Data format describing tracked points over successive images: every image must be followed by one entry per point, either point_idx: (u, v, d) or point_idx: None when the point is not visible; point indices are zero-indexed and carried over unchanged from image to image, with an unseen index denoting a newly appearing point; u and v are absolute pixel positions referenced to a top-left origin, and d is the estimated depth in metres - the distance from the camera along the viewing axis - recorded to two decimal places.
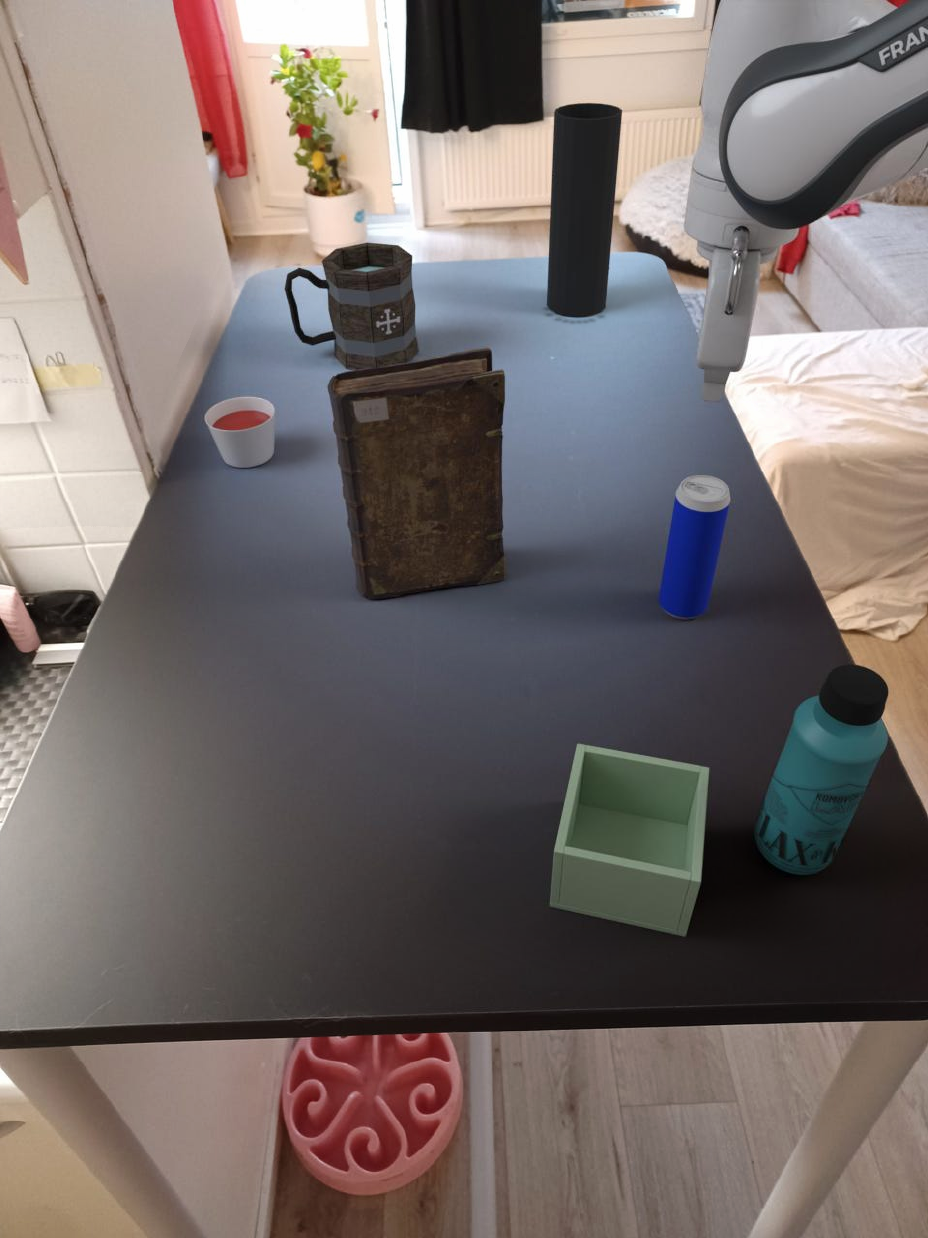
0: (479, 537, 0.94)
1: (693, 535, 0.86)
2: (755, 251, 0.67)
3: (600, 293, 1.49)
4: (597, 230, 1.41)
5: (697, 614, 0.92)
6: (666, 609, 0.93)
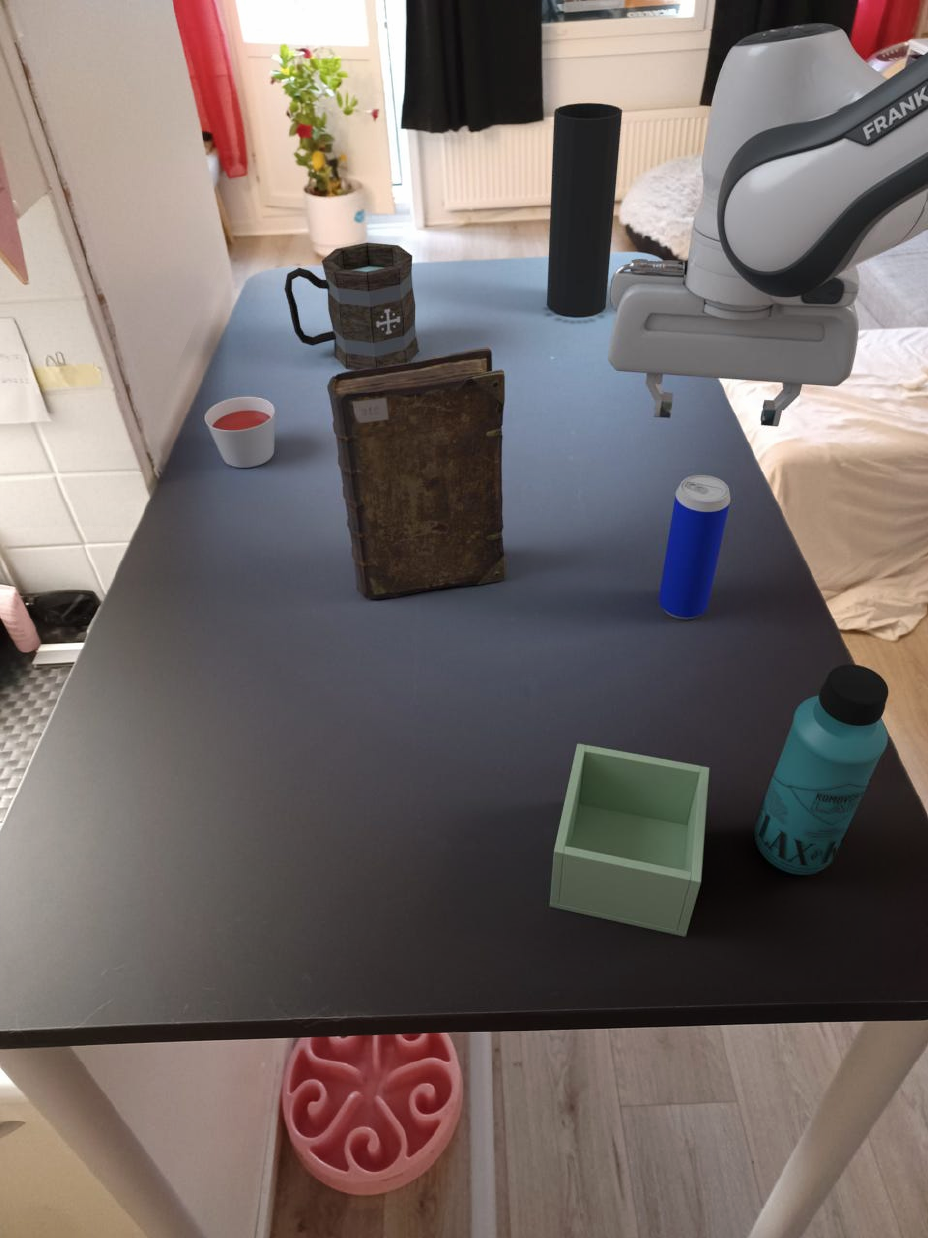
0: (479, 537, 0.94)
1: (693, 535, 0.86)
2: (687, 289, 0.72)
3: (600, 293, 1.49)
4: (597, 230, 1.41)
5: (697, 614, 0.92)
6: (666, 609, 0.93)
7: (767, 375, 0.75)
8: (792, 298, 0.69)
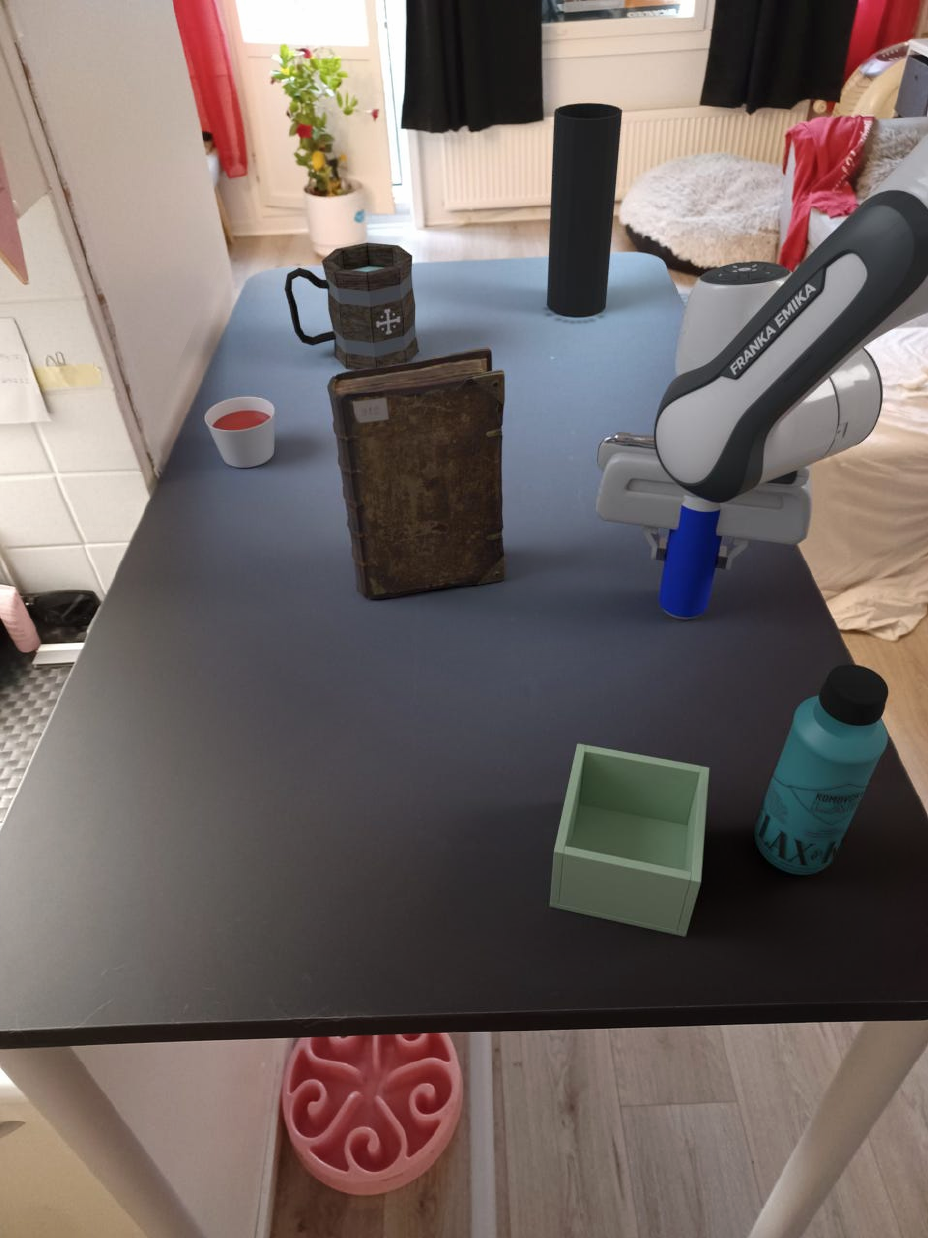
0: (479, 537, 0.94)
1: (692, 535, 0.86)
2: None
3: (600, 293, 1.49)
4: (597, 230, 1.41)
5: (697, 614, 0.92)
6: (666, 609, 0.93)
7: (734, 533, 0.85)
8: None
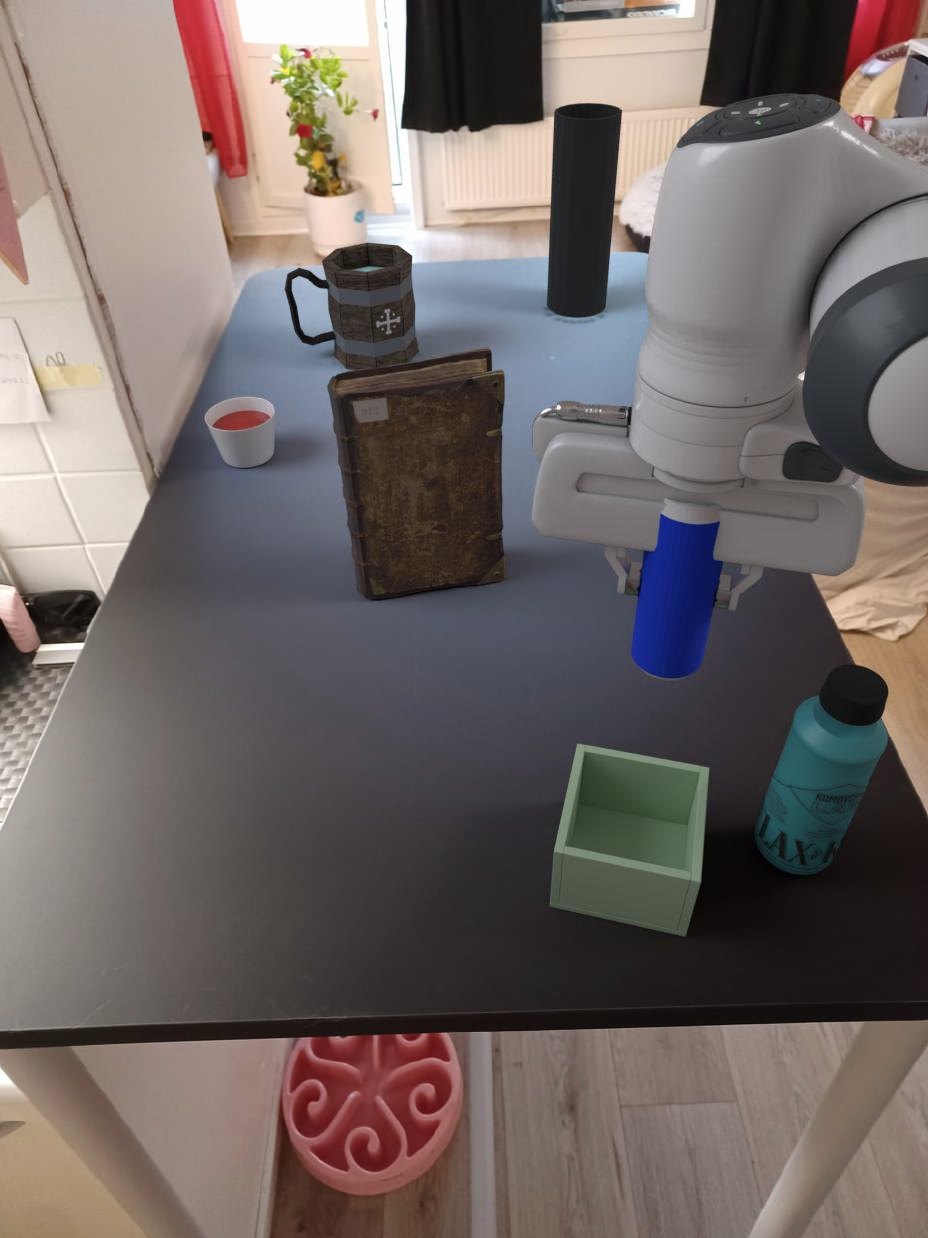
0: (479, 537, 0.94)
1: (678, 560, 0.56)
2: (630, 446, 0.53)
3: (600, 293, 1.49)
4: (597, 230, 1.41)
5: (687, 674, 0.63)
6: (641, 666, 0.63)
7: (741, 557, 0.55)
8: (770, 472, 0.49)
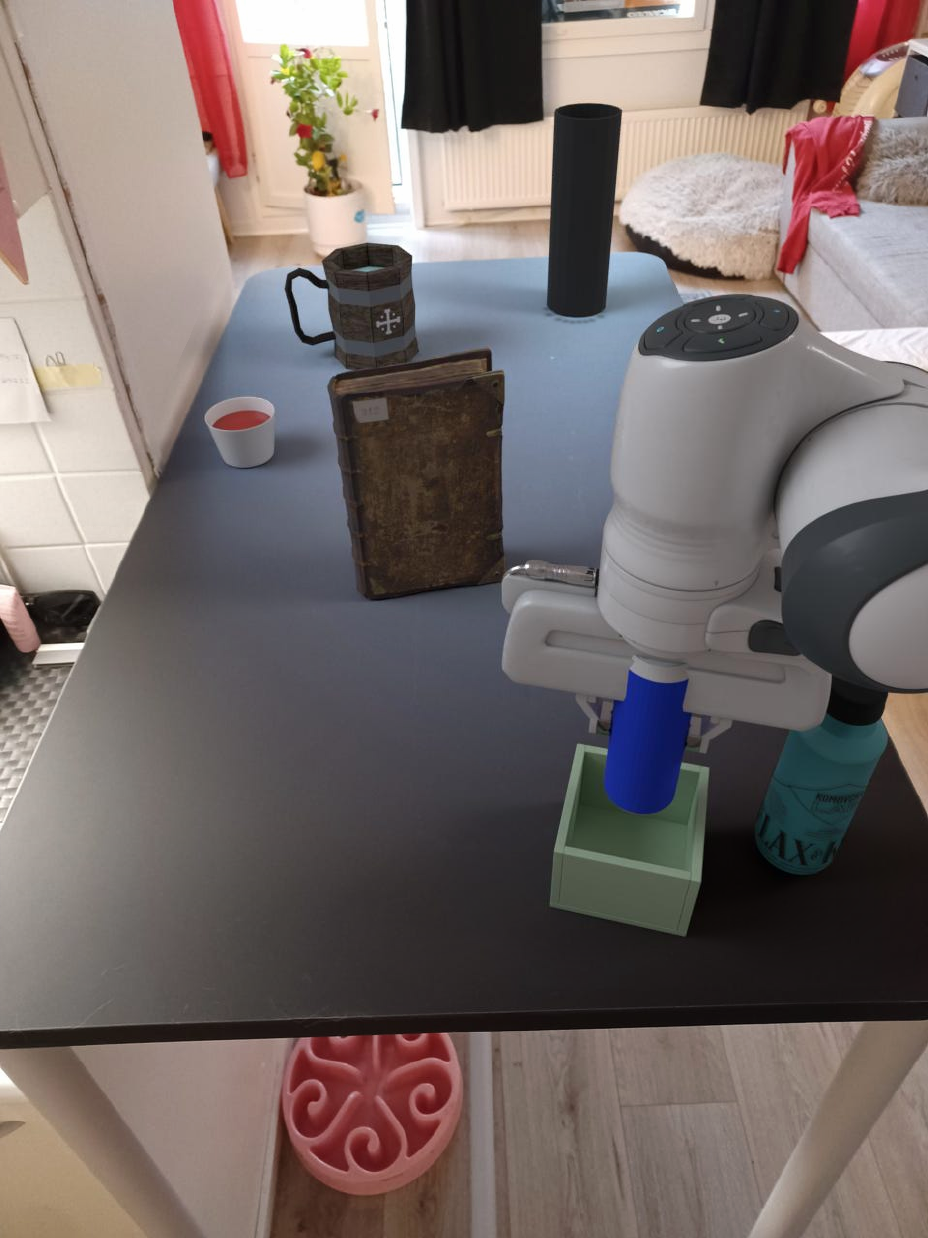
0: (479, 537, 0.94)
1: (647, 713, 0.56)
2: (598, 608, 0.53)
3: (600, 293, 1.49)
4: (597, 230, 1.41)
5: (659, 809, 0.63)
6: (614, 800, 0.63)
7: (710, 711, 0.55)
8: (736, 646, 0.49)
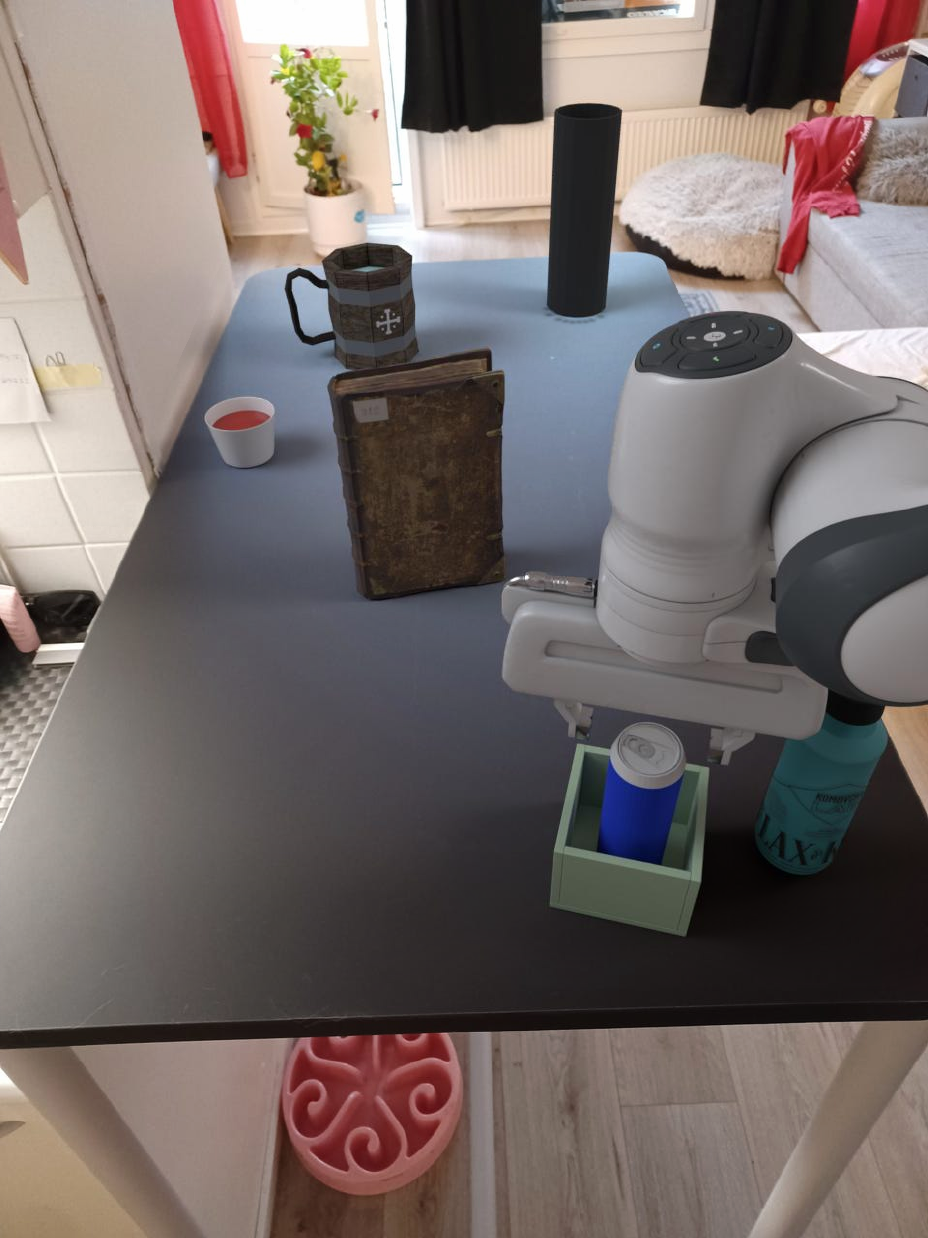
0: (479, 537, 0.94)
1: (633, 810, 0.61)
2: (597, 618, 0.53)
3: (600, 293, 1.49)
4: (597, 230, 1.41)
5: None
6: None
7: (708, 720, 0.56)
8: (733, 656, 0.50)
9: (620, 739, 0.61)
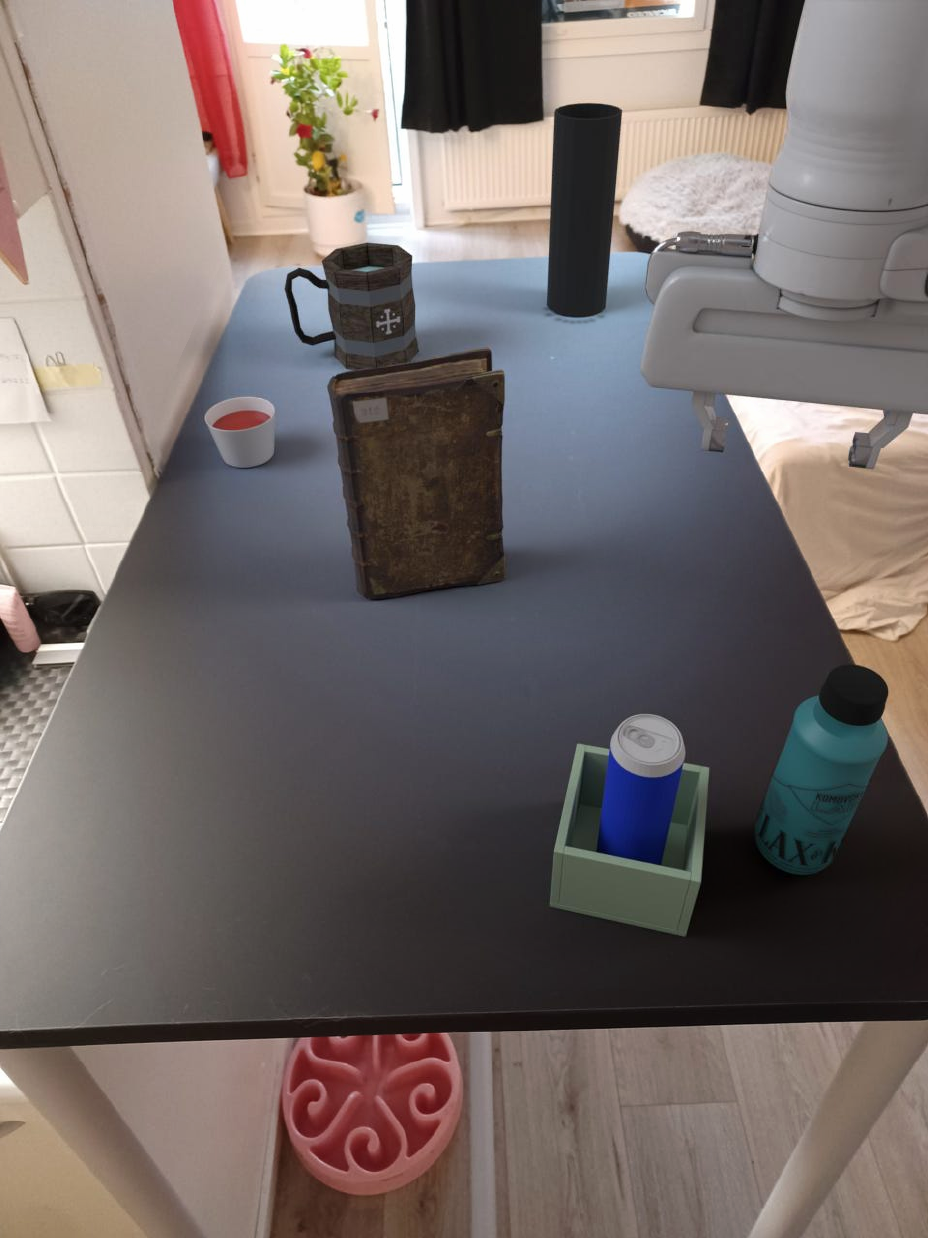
0: (479, 537, 0.94)
1: (633, 801, 0.62)
2: (755, 276, 0.51)
3: (600, 293, 1.49)
4: (597, 230, 1.41)
5: None
6: None
7: (864, 399, 0.53)
8: (911, 290, 0.47)
9: (620, 730, 0.62)
